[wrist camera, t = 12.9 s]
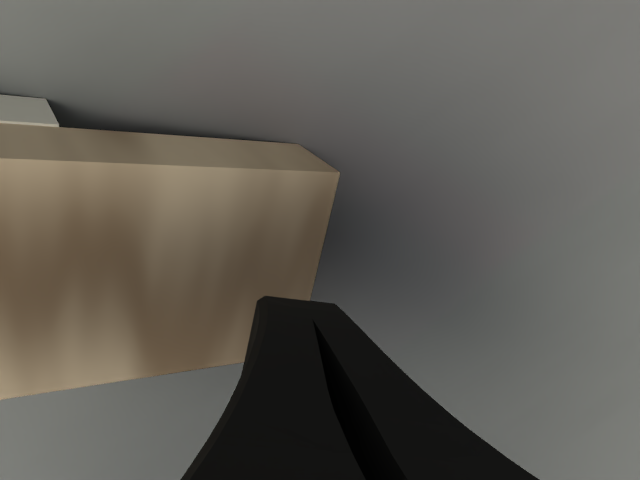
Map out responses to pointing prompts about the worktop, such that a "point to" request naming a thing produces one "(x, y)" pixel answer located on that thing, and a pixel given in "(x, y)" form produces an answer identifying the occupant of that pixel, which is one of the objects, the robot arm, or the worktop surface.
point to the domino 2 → (146, 250)
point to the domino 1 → (26, 111)
